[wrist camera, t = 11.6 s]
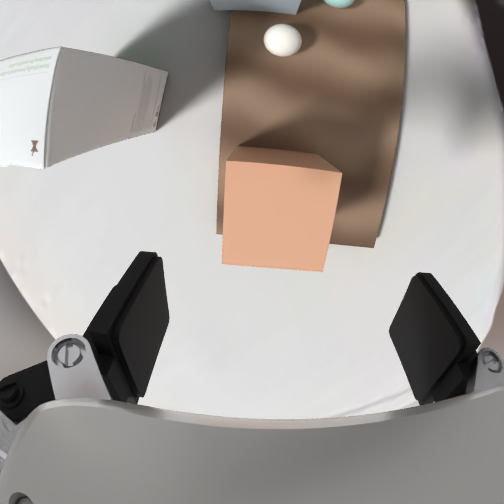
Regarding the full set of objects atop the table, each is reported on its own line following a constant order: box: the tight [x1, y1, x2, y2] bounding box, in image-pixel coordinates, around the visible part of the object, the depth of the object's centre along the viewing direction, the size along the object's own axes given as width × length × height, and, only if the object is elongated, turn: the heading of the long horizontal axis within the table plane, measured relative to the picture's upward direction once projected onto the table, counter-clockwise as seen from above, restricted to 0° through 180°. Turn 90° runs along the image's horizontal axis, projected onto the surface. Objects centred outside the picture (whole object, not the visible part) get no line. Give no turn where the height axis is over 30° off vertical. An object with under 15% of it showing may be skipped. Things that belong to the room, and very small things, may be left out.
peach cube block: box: [222, 146, 342, 272], centre depth 21 cm, size 7×7×8 cm
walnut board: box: [217, 0, 406, 248], centre depth 21 cm, size 30×16×2 cm, turn 176°
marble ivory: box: [264, 24, 302, 57], centre depth 17 cm, size 3×3×3 cm
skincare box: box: [0, 47, 168, 169], centre depth 15 cm, size 8×7×16 cm
